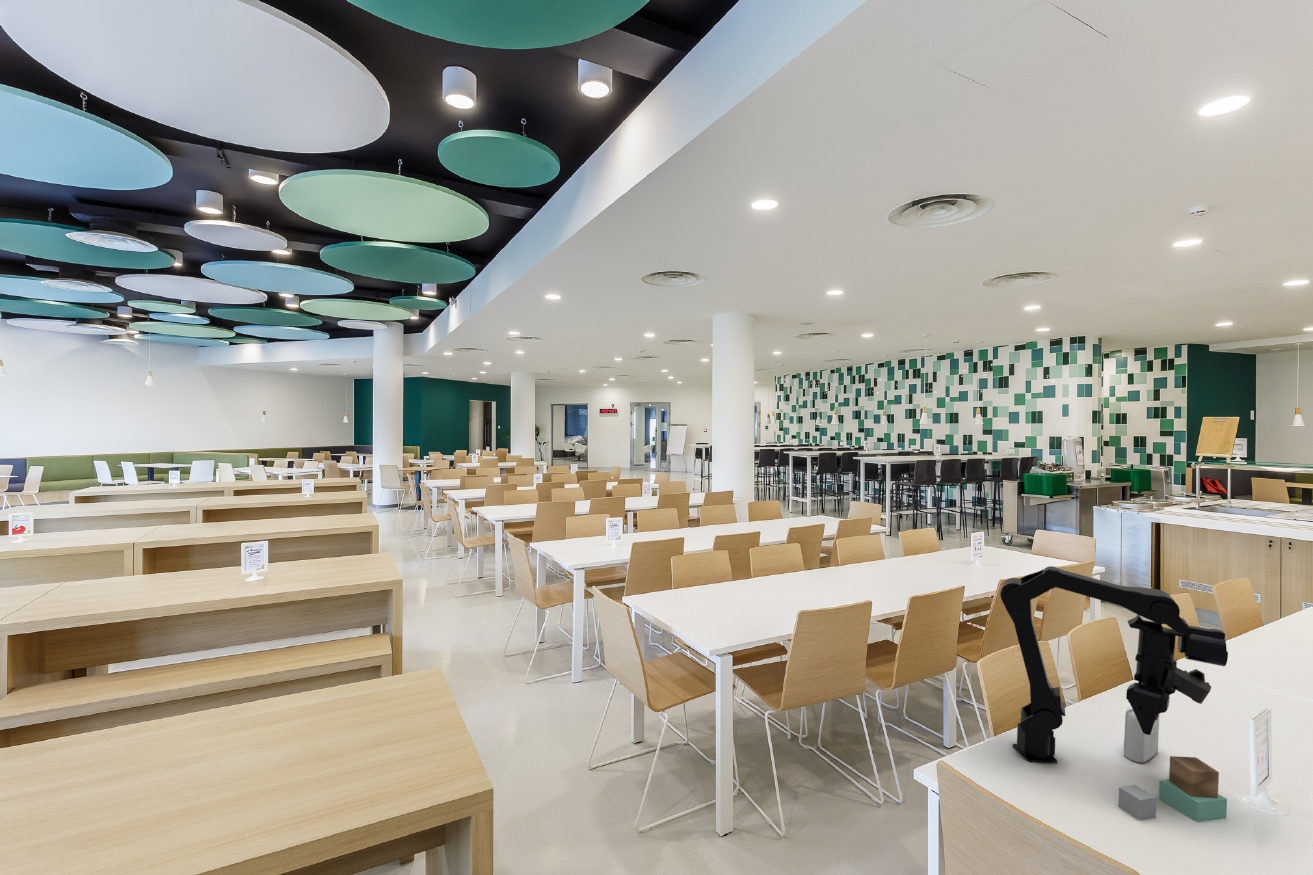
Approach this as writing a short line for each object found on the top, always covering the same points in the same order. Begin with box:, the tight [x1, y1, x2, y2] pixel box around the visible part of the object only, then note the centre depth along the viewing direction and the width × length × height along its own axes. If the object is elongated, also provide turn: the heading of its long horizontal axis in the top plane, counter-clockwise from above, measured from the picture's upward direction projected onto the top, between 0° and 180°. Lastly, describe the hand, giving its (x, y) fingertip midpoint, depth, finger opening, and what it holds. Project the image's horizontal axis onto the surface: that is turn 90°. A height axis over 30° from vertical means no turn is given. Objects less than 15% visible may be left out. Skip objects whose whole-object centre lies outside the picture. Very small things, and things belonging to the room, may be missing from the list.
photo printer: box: [1123, 704, 1160, 764], centre depth 133 cm, size 10×4×12 cm, turn 123°
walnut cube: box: [1168, 755, 1220, 798], centre depth 114 cm, size 5×5×5 cm
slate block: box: [1117, 784, 1157, 821], centre depth 113 cm, size 4×4×4 cm
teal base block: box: [1158, 778, 1228, 823], centre depth 114 cm, size 7×7×4 cm
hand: (1150, 726), depth 121 cm, fingers open, 9 cm apart
